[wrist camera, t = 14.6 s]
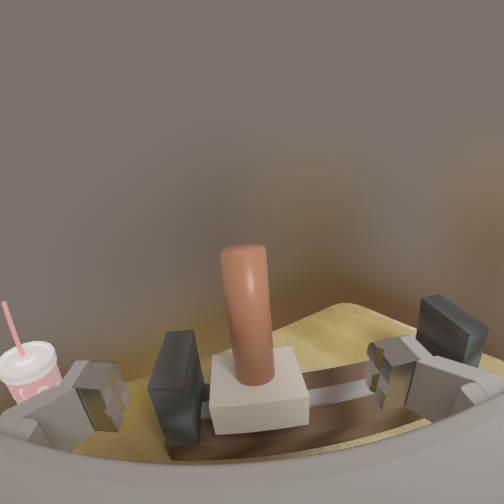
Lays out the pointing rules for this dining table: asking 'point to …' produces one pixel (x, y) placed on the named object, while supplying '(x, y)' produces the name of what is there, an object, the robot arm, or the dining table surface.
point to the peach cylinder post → (253, 355)
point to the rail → (318, 385)
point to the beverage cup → (28, 366)
